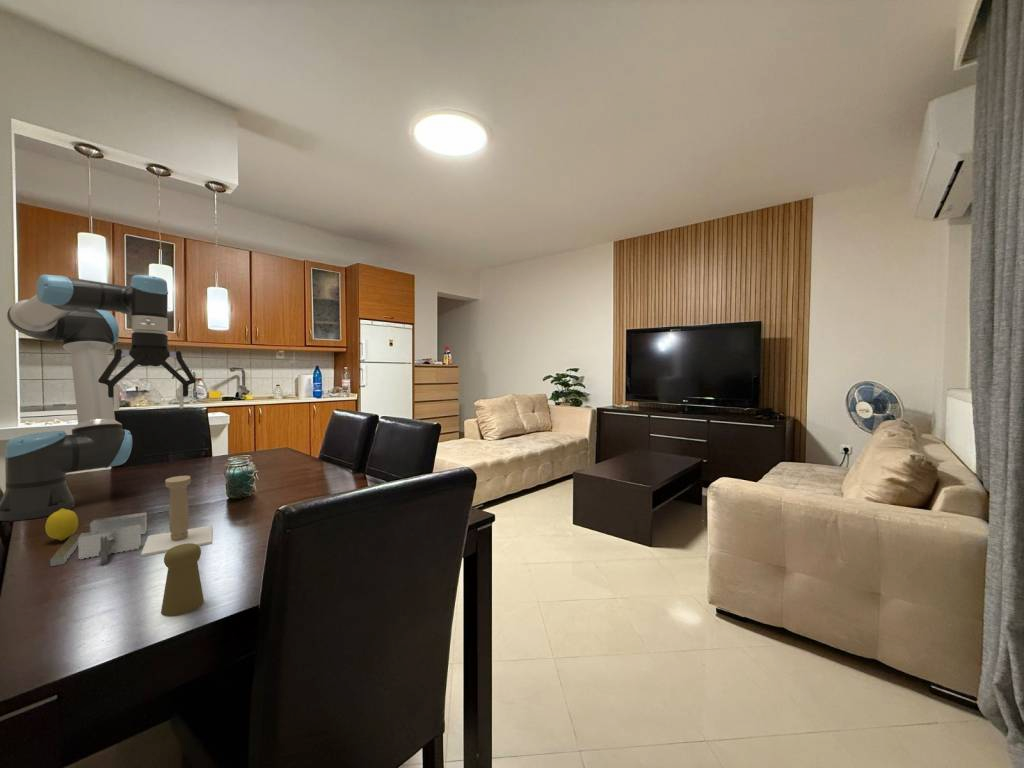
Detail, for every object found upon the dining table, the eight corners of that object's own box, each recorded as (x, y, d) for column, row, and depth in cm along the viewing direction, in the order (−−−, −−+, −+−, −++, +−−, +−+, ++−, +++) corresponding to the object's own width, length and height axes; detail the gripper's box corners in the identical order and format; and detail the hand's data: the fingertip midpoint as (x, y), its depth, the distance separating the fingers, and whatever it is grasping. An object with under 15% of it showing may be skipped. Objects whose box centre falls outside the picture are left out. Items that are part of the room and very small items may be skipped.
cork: (177, 598, 77) (177, 539, 76) (211, 597, 77) (211, 539, 77) (151, 617, 70) (151, 553, 70) (189, 615, 71) (188, 553, 71)
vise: (71, 545, 101) (71, 517, 101) (147, 533, 109) (147, 507, 109) (42, 581, 84) (41, 547, 84) (134, 563, 92) (134, 532, 92)
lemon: (82, 538, 103) (82, 507, 103) (50, 546, 98) (50, 513, 98) (72, 534, 105) (72, 503, 105) (41, 542, 100) (40, 510, 100)
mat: (148, 538, 104) (148, 535, 104) (212, 527, 111) (212, 525, 111) (140, 556, 93) (140, 554, 93) (211, 543, 101) (211, 541, 101)
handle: (165, 545, 98) (164, 483, 98) (167, 536, 103) (166, 477, 103) (191, 540, 101) (190, 480, 101) (192, 532, 106) (190, 474, 106)
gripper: (82, 328, 103) (83, 411, 104) (205, 334, 118) (205, 408, 118) (89, 330, 109) (90, 409, 110) (206, 336, 124) (206, 406, 125)
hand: (150, 409), depth 114 cm, fingers open, 13 cm apart
